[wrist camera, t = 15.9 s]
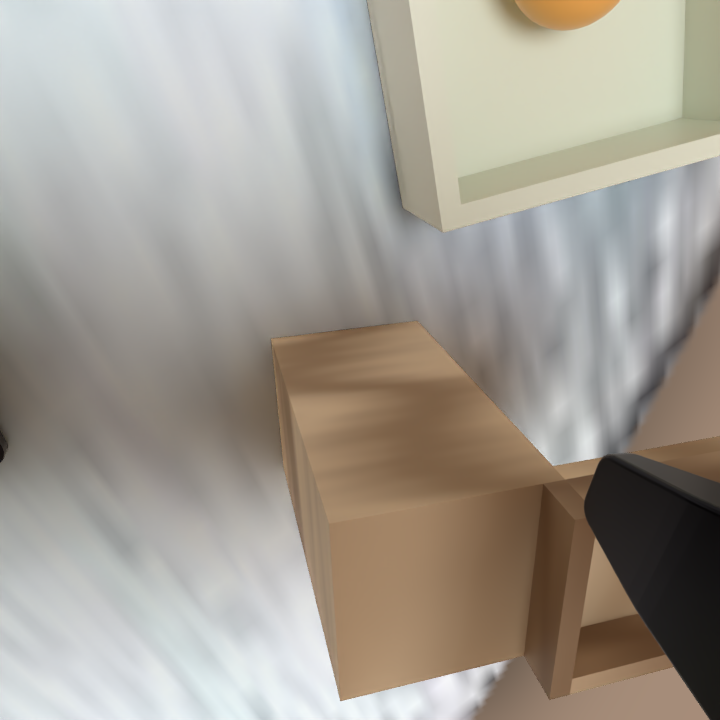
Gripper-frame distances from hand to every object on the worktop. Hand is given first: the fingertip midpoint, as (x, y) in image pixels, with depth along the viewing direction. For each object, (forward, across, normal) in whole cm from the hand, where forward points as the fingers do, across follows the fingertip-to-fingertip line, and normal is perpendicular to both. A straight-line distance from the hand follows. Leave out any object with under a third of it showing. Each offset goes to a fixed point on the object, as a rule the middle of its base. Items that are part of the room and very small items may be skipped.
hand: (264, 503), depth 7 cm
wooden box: (+12, +6, -6) cm, 15 cm away
